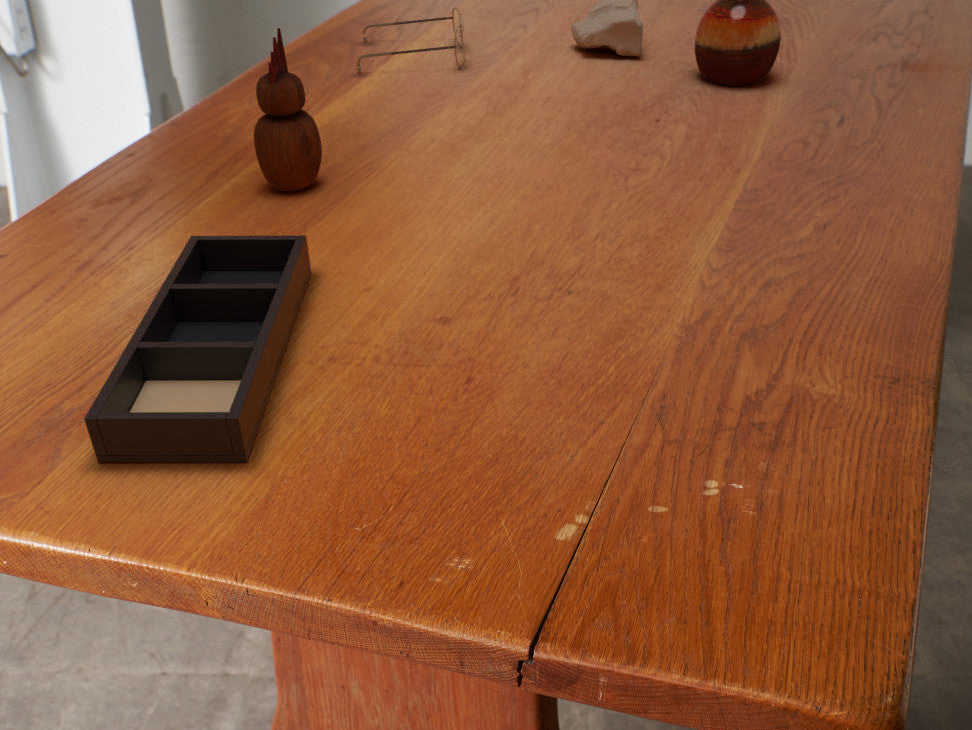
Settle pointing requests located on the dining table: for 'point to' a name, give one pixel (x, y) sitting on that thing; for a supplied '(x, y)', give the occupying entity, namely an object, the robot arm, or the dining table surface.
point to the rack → (203, 354)
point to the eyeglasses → (417, 49)
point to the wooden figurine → (285, 127)
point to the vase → (737, 42)
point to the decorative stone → (611, 27)
